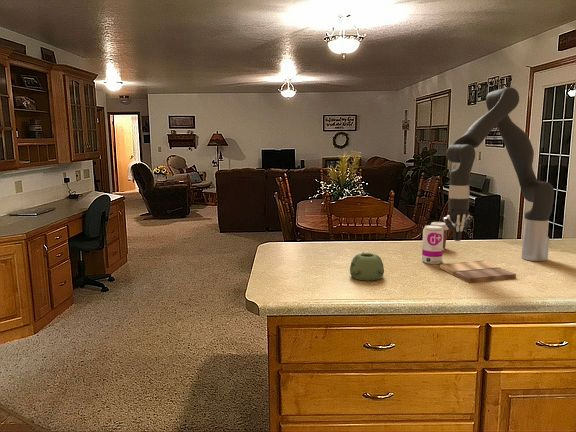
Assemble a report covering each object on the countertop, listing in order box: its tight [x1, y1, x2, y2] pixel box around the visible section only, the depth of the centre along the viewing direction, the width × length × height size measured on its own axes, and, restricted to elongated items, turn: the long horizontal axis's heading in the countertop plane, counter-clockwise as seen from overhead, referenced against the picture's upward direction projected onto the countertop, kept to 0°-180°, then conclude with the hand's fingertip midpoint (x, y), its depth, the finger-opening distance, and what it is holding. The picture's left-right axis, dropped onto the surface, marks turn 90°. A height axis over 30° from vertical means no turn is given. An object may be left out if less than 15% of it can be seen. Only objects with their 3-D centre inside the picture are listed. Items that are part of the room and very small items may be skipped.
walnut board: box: [453, 266, 517, 284], centre depth 180 cm, size 20×9×2 cm, turn 105°
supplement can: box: [421, 224, 444, 265], centre depth 201 cm, size 8×8×15 cm
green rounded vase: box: [349, 251, 385, 282], centre depth 182 cm, size 16×13×9 cm
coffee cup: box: [430, 221, 450, 251], centre depth 226 cm, size 9×9×12 cm
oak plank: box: [439, 259, 500, 276], centre depth 189 cm, size 20×9×2 cm, turn 105°
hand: (457, 240), depth 188 cm, fingers closed
